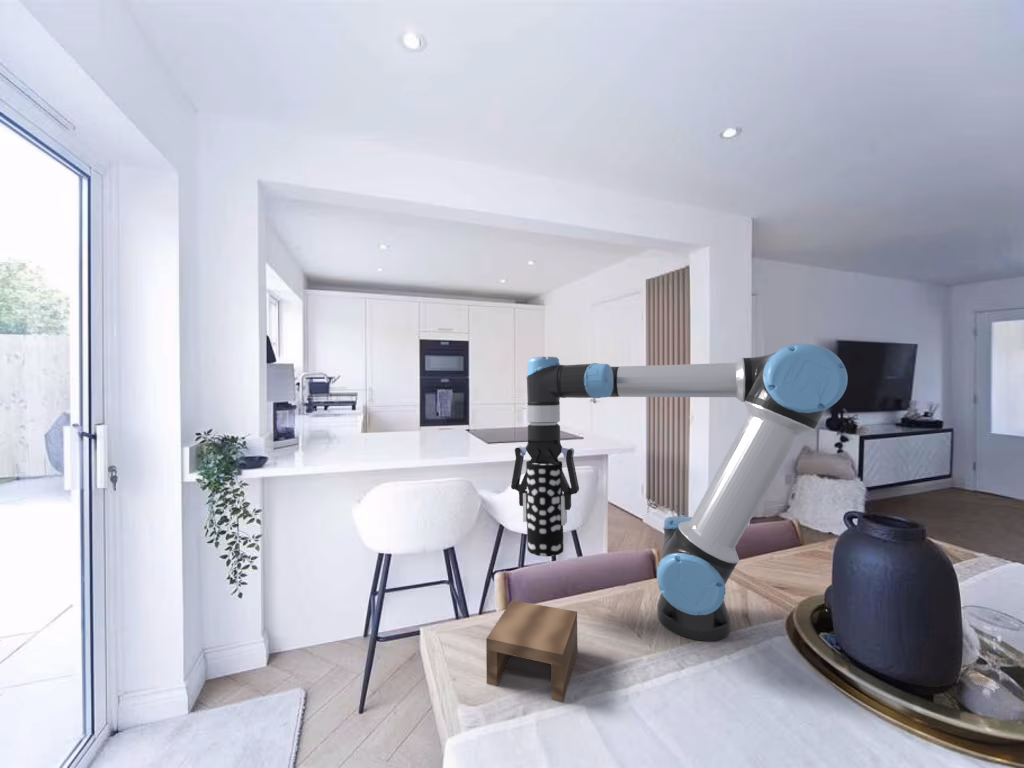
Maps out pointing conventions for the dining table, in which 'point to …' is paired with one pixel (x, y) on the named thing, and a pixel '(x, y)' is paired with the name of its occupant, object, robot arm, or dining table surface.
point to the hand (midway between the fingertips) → (545, 521)
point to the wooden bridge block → (534, 642)
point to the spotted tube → (544, 509)
